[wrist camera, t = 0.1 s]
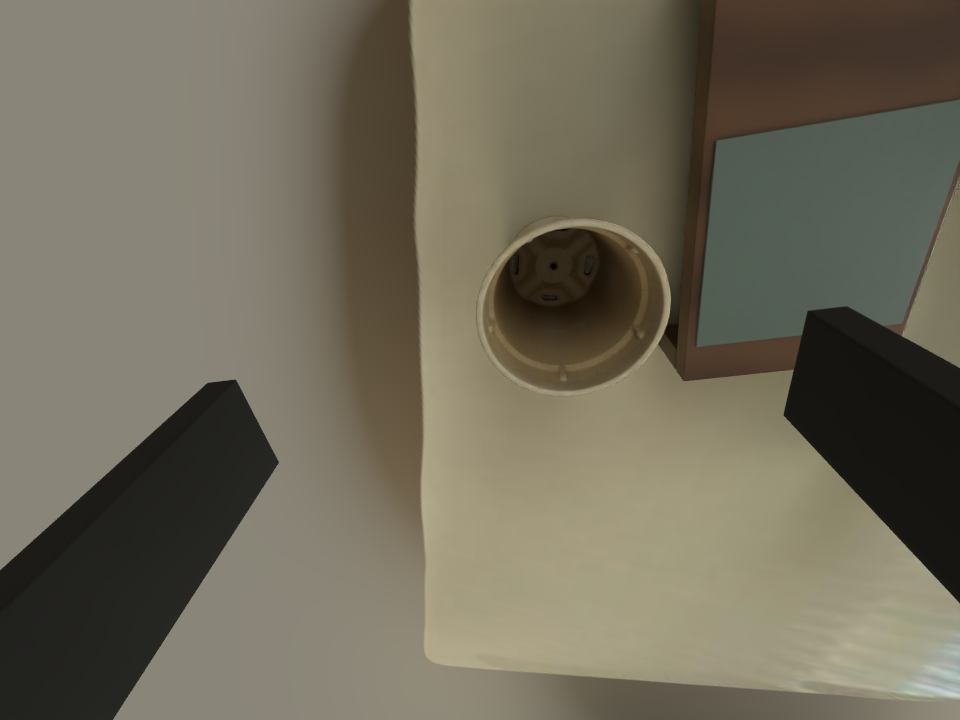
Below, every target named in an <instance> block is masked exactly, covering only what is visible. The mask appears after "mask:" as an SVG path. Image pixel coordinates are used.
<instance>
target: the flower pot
mask: <svg viewBox="0 0 960 720" xmlns="http://www.w3.org/2000/svg"><path fill="white" fill-rule="evenodd" d="M566 228H568V229H567V230H566V231H558V230H559V229H566ZM515 255H518V256H519V266H518V271H519V272H518V273H514V272H513V269H512V259H513V257H514V256H515ZM589 256H591V257H593V259H594V263H593V266H592V269H591V272H590V274H589V275H588V274H585V266H586V260H587V259H586V258H587V257H589ZM552 263H555V264H556V265H557V268H556V269H552V268H551V267H550V266H551V264H552ZM550 294H551V296H557V298H558V299H557V300H544V299H543V298H542V296H549V295H550ZM670 304H671V295H670V286H669V282H668V278H667V275H666V271H665V269H664V266H663V265H662V263H661V260H660V259H659V257H658V256H657V255H656V253H655V252H654V250H653V249H652V248H651V247H650V246H649V245H648V244H647V243H646V242H645V241H644V240H643V239H641V238H640V237H639V236H637V235H636V234H634V233H633V232H631V231H630V230H628V229H626V228H623V227H621V226H619V225H616V224H613V223H610V222H606V221H602V220H597V219H590V218H575V219H572V218H568V217H560V216H554V217H547V218H543V219H540V220H537V221H535V222H533V223H532V224H530V225H529V226H527V227H526V228H524V229H523V230H522V231H521V232H520V233H519V234H518V235H517V237H516V238H515V239H514V241H513V242H512V243H511V244H510V245H509V246H508V247H507V248H506V249H504V250H503V252H502V253H501V254H500V255H499V256H498V257H497V259H496V260H495V261H494V263H493V264H492V265H491V267H490V269H489V270H488V272H487V274H486V276H485V278H484V280H483V282H482V285H481V288H480V291H479V295H478V300H477V308H476V321H477V329H478V335H479V338H480V341H481V343H482V346H483V349H484V350H485V352H486V354H487V356H488V357H489V359H490V360H491V362H492V363H493V365H494V366H495V367H496V368H497V369H498V370H499V371H500V372H501V373H502V374H503V375H504V376H506V377H507V378H508V379H510V380H511V381H512V382H514V383H515V384H517V385H519V386H521V387H523V388H525V389H527V390H531V391H533V392H536V393H541V394H545V395H550V396H563V397H564V396H574V395H582V394H588V393H592V392H595V391H599V390H602V389H603V388H607V387H609V386H611V385H613V384H615V383H618V382H619V381H621V380H622V379H624V378H626V377H627V376H629V375H630V374H631V373H633V372H634V371H635V370H636V369H637V368H638V367H640V366H641V365H642V364H643V363H644V362H645V361H646V359H647V358H648V357H649V356H650V355H651V354H652V352H653V351H654V350H655V348H656V346H657V345H658V343H659V341H660V340H661V337H662V335H663V334H664V331H665V328H666V325H667V322H668V318H669V312H670Z"/></svg>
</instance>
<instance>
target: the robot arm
mask: <svg viewBox="0 0 960 720" xmlns="http://www.w3.org/2000/svg"><path fill="white" fill-rule="evenodd" d="M784 416H785V417H786V419H787V420H788V421H789V422H790V423H791V424H792V425H793V426H794V427H795V428H796V429H797V430H798V431H799V432H800V433H801V434H802V436H803V437H804V438H805V439H806V440H807V441H808V442H809V443H810V444H811V445H812V446H813V447H814V448H815V449H816V450H817V452H818V453H819V454H820V455H821V456H822V457H823V458H824V459H825V460H826V461H827V462H828V463H829V464H830V465H831V466H832V468H833V469H834V470H835V471H836V472H837V473H838V474H839V475H840V476H841V477H842V478H843V479H844V480H845V481H846V482H847V484H848V485H849V486H850V487H851V488H852V489H853V490H854V491H855V492H856V493H857V494H858V495H859V496H860V497H861V498H862V499H863V501H864V502H865V503H866V504H867V505H868V506H869V507H870V508H871V509H872V510H873V511H874V512H875V513H876V514H877V515H878V517H879V518H880V519H881V520H882V521H883V522H884V523H885V524H886V525H887V526H888V527H889V528H890V529H891V530H892V531H893V533H894V534H895V535H896V536H897V537H898V538H899V539H900V540H901V541H902V542H903V543H904V544H905V545H906V546H907V547H908V549H909V550H910V551H911V552H912V553H913V554H914V555H915V556H916V557H917V558H918V559H919V560H920V561H921V562H922V563H923V564H924V566H925V567H926V568H927V569H928V570H929V571H930V572H931V573H932V574H933V575H934V576H935V577H936V578H937V579H938V580H939V582H940V583H941V584H942V585H943V586H944V587H945V588H946V589H947V590H948V591H949V592H950V593H951V594H952V595H953V596H954V598H955V599H956V600H957V601H958V602H959V603H960V368H958V367H957V366H955V365H953V364H951V363H949V362H948V361H946V360H944V359H942V358H940V357H939V356H937V355H935V354H933V353H931V352H929V351H928V350H926V349H924V348H922V347H920V346H919V345H917V344H915V343H913V342H911V341H910V340H908V339H906V338H904V337H902V336H900V335H899V334H897V333H895V332H893V331H891V330H890V329H888V328H886V327H884V326H882V325H881V324H879V323H877V322H875V321H873V320H871V319H870V318H868V317H866V316H864V315H862V314H861V313H859V312H857V311H855V310H853V309H851V308H850V307H848V306H844V307H835V308H827V309H819V310H810V311H807V315H806V320H805V324H804V328H803V333H802V337H801V341H800V346H799V350H798V354H797V359H796V363H795V367H794V372H793V376H792V380H791V385H790V389H789V393H788V398H787V402H786V406H785V411H784ZM278 463H279V462H278V460H277V458H276V456H275V454H274V452H273V450H272V448H271V447H270V445H269V443H268V441H267V439H266V437H265V435H264V433H263V431H262V429H261V427H260V425H259V423H258V421H257V419H256V417H255V416H254V414H253V412H252V410H251V408H250V406H249V404H248V402H247V400H246V398H245V396H244V395H243V393H242V391H241V389H240V387H239V385H238V383H237V381H236V380H228V381H221V382H212V383H207V384H206V385H205V386H204V387H203V388H202V389H201V390H199V391H198V392H197V393H196V394H195V395H194V396H193V397H192V398H190V399H189V400H188V401H187V402H186V403H185V404H184V405H183V406H182V407H180V408H179V409H178V410H177V411H176V412H175V413H174V414H173V415H172V416H171V417H169V418H168V419H167V420H166V421H165V422H164V423H163V424H162V425H161V426H160V427H158V428H157V429H156V430H155V431H154V432H153V433H152V434H151V435H149V437H147V438H146V439H145V440H144V441H143V442H142V443H141V444H140V445H138V446H137V447H136V448H135V449H134V450H133V451H132V452H131V453H130V454H128V456H126V457H125V458H124V459H123V460H122V461H121V462H120V463H119V464H117V465H116V466H115V467H114V468H113V469H112V470H111V471H110V472H109V473H107V474H106V475H105V476H104V477H103V478H102V479H101V480H100V481H99V482H97V483H96V484H95V485H94V486H93V487H92V488H91V489H90V490H89V491H88V492H86V493H85V494H84V495H83V496H82V497H81V498H80V499H79V500H78V501H76V502H75V503H74V504H73V505H72V506H71V507H70V508H69V509H68V510H67V511H65V512H64V513H63V514H62V515H61V516H60V517H59V518H58V519H57V520H56V521H54V522H53V523H52V524H51V525H50V526H49V527H48V528H47V529H46V530H45V531H43V532H42V533H41V534H40V535H39V536H38V537H37V538H36V539H34V540H33V541H32V542H31V543H30V544H29V545H28V546H27V547H26V548H25V549H23V550H22V551H21V552H20V553H19V554H18V555H17V556H16V557H14V558H13V559H12V560H11V561H10V562H9V563H8V564H7V565H6V566H5V567H3V568H2V569H1V570H0V720H113V719H114V717H115V715H116V714H117V712H118V711H119V709H120V708H121V706H122V705H123V703H124V701H125V700H126V698H127V697H128V695H129V694H130V692H131V691H132V689H133V688H134V686H135V684H136V683H137V681H138V680H139V678H140V677H141V675H142V674H143V672H144V671H145V669H146V667H147V666H148V664H149V663H150V661H151V660H152V658H153V657H154V655H155V654H156V652H157V650H158V649H159V647H160V646H161V644H162V643H163V641H164V640H165V638H166V636H167V635H168V633H169V632H170V630H171V629H172V627H173V626H174V624H175V623H176V621H177V620H178V618H179V616H180V615H181V613H182V612H183V610H184V609H185V607H186V605H187V604H188V603H189V601H190V599H191V598H192V596H193V595H194V593H195V592H196V590H197V589H198V587H199V586H200V584H201V582H202V581H203V579H204V578H205V576H206V575H207V573H208V572H209V570H210V568H211V567H212V565H213V564H214V562H215V561H216V559H217V558H218V556H219V555H220V553H221V551H222V550H223V548H224V547H225V545H226V544H227V542H228V541H229V539H230V538H231V536H232V534H233V533H234V531H235V530H236V528H237V527H238V525H239V524H240V522H241V520H242V519H243V517H244V516H245V514H246V513H247V511H248V510H249V508H250V507H251V505H252V504H253V502H254V500H255V499H256V497H257V496H258V494H259V492H260V491H261V489H262V488H263V487H264V485H265V483H266V482H267V480H268V479H269V477H270V476H271V474H272V473H273V471H274V469H275V468H276V466H277V465H278Z"/></svg>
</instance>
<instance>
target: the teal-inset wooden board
mask: <svg viewBox="0 0 960 720" xmlns="http://www.w3.org/2000/svg"><path fill="white" fill-rule="evenodd" d="M959 178H960V0H702V12H701V26H700V39H699V53H698V67H697V81H696V94H695V108H694V122H693V136H692V149H691V163H690V177H689V191H688V204H687V218H686V232H685V246H684V259H683V273H682V287H681V301H680V315H679V324H676V325H668V326H666V328H665V331H664V334H663V335H662V337H661V340H660V341H659V346H660V347H661V349H662V350H663V352H664V353H665V355H666V356H667V358H668V359H669V361H670V362H671V363H672V365H673V366H674V368H675V369H676V371H677V372H678V374H679V375H680V377H681V378H682V379H683V381H690V380H700V379H709V378H719V377H728V376H737V375H747V374H756V373H766V372H775V371H785V370H794V367H795V363H796V359H797V354H798V350H799V346H800V341H801V337H802V333H803V328H804V324H805V320H806V315H807V311H810V310H819V309H827V308H835V307H844V306H848V307H850V308H851V309H853V310H855V311H857V312H859V313H861V314H862V315H864V316H866V317H868V318H870V319H871V320H873V321H875V322H877V323H879V324H881V325H882V326H884V327H886V328H888V329H890V330H891V331H893V332H895V333H897V334H899V335H900V336H903V334H904V331H905V328H906V325H907V323H908V320H909V317H910V314H911V311H912V309H913V306H914V303H915V300H916V297H917V295H918V292H919V289H920V286H921V284H922V281H923V278H924V275H925V272H926V270H927V267H928V264H929V261H930V259H931V256H932V253H933V250H934V247H935V245H936V242H937V239H938V236H939V233H940V231H941V228H942V225H943V222H944V220H945V217H946V214H947V211H948V208H949V206H950V203H951V200H952V197H953V195H954V192H955V189H956V186H957V183H958V181H959Z"/></svg>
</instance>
